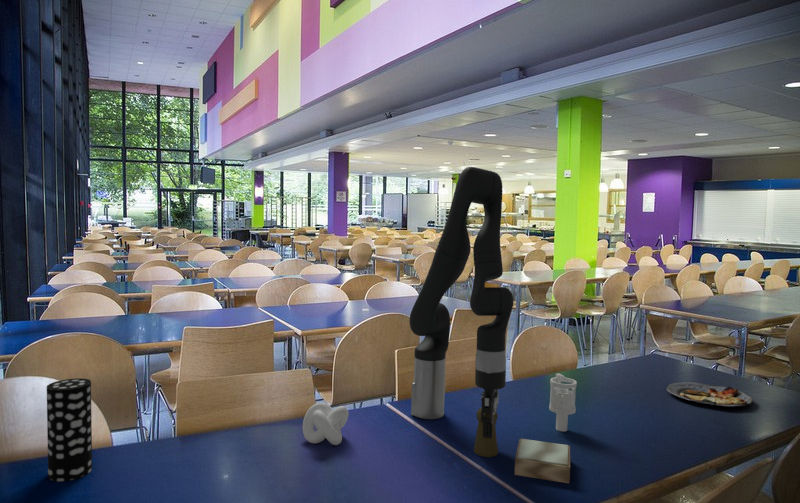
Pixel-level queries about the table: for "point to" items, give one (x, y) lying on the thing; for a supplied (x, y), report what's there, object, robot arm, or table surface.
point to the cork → (486, 445)
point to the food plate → (710, 394)
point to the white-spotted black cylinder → (69, 429)
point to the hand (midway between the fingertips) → (489, 431)
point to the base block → (543, 460)
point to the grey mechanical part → (562, 400)
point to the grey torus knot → (324, 423)
